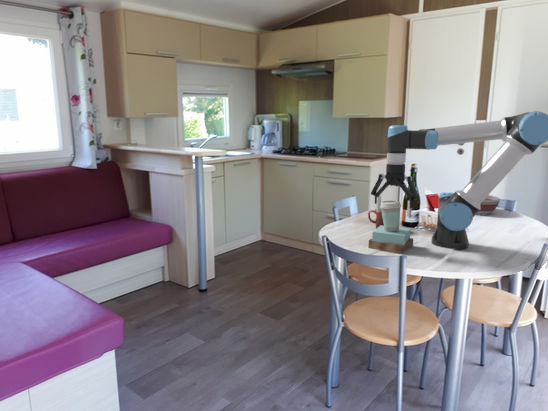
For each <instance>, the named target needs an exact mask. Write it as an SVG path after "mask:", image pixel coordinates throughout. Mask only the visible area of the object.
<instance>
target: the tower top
mask: <svg viewBox="0 0 548 411" xmlns="http://www.w3.org/2000/svg"><path fill="white" fill-rule="evenodd" d="M411 230H412V228H407V227H400V226H399V230H398V231H393V232H389V231H385V228H384V226H382V225H380V226H379V227H378V228H377V229H376V228H375V229H374V230H372V236H371V237H372V238H371V239H372V241H375V242H383V243H391V244H398V245H404V244H405V243H406V242H407V241H408V240H409V238H411Z"/></svg>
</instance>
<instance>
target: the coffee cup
mask: <svg viewBox="0 0 548 411" xmlns="http://www.w3.org/2000/svg"><path fill="white" fill-rule="evenodd" d="M401 207H402V204H401V202H400V201H399V200H384V201H381V205H380V208H381V211H382V217H383V223H384V228H385V231H389V232H393V231H398V230H399V227H400V220H401Z"/></svg>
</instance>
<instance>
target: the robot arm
mask: <svg viewBox="0 0 548 411" xmlns="http://www.w3.org/2000/svg"><path fill="white" fill-rule="evenodd" d="M496 140H501V141H503V144H502V145H500V147H499V148H498V149H497V150H496V151H495V153H494V154H493V155H492V156H491V157H490V158H489V159H488V160H487V162H486V163H485V164H484V165H483V166H482V167H481V168H480V169H479V171H478V172H477V173H476V174H475V175H474V176H473V177H472V178H471V180H470V181H469V182H468V183H466V185H465V186H464V187H463V189H461V190H455V192H440V193H439V195H438V198H437V199H438V204H437V205H438V207H437V220H436V227H435V228H434V232H433V234H432V236H431V244H432V245H433V246H436V247H440V248H444V249H451V250H452V249H453V250H462V249H467V248H469V239H468V234H467V230H466V229H467V228H469V226H470V225H471V224H472V222H473V219H474V217H475V216H476V214H477V213H478V212H479V211H480V209H481V207H480V204H481V202H482V201H483V200H484V199H485V198H486V197H487V196H488V195H490V194H491V192H493V191H494V189H496V188H497V186H498V185H499V184H500V183H501V182H502V181H503V179H505V178H506V177H507V175H508V174H509V173H510V172H511V171H512V170H513V169H514V167H516V165H517V164H518V163H519V162H520V161H522V159H523V158H524V157H525V156H526V155H527V156H528V155H532V154H533V153H534V152H535V151H536V150H538V148H540V146H541V145H544V144H545V143H547V142H548V114H547V113H544V112H543V111H539V110H538V111H527V112H523V113H520V114H517V115H511V116H505V117H504V116H503V117H502V118H501V119H499V120H494V121H493V120H492V121H485V122H484V121H483V122H475V123H469V124H459V125H451V126H450V125H449V126H443V127H442V126H440V127H435V128H421V129H418V130H412V129H411V130H409V129H408V126H407V125H397V124H396V125H390V126H389V127H388V131H387V144H386V145H387V147H386V148H387V149H386V166H385V167H386V169H385V170H386V171H385V172H386V173H385V174H384V173H380V174H378V177H377V180H376V183H375V185H374V186H373V188H372V190H371V192H370V195H371V196H374V204H375V205H376V206H375V207H376V208H375V209H376V212H380V211H381V208H380V205H381V202H382V196H381V195H382V193H383V192H384V191H386V189H387V188H388V187H389V186H391V187H392V186H393V187H400V188H401V189H402V191H403V193H405V195H406V196H407V198H408V200H407V208H406V210H407V211H406V217H412V209H414V208H415V200H419V199H420V196H419V193H418V190H417V188H416V186H415V184H414V181H413V176H412V175H409V176H406V164H405V163H406V161H407V160H406V159H407V158H406V156H407V150H428V151H429V150H436V149H437V148H438V146H449V145H457V144H467V143H476V142H477V143H478V142H486V141H488V142H489V141H496ZM384 179H385V180H386V181H385V182H384V183H383V180H384ZM405 181H406V182H407V184H408V185H407V184H406V183H405ZM382 183H383V185H382V186H381V184H382ZM407 186H408V187H407Z"/></svg>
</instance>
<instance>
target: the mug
mask: <svg viewBox="0 0 548 411" xmlns="http://www.w3.org/2000/svg"><path fill="white" fill-rule="evenodd" d="M371 213H374V214H375V220H373V219H372V218H371ZM367 216H368V220H369V221H370V222H371V223H373V224H375V230H376V229H377V228H378V227H379V226H380V225H382V226H384V223H383V217H382V211H380V212H376V208H375V209H374V210H372V209H371V210H369V211H368V213H367Z"/></svg>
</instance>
